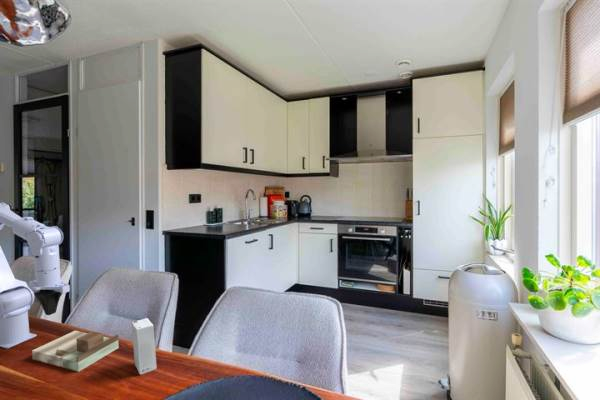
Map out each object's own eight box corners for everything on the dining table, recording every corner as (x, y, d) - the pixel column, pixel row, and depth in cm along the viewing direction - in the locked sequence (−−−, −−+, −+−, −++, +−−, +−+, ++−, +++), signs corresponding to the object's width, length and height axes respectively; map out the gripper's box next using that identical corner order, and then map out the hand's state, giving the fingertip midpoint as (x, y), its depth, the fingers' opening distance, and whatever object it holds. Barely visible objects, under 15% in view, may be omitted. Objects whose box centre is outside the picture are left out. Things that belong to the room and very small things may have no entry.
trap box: (32, 359, 88) (31, 345, 87) (75, 338, 99) (74, 325, 99) (78, 371, 82) (77, 356, 82) (118, 347, 93) (118, 334, 93)
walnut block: (77, 350, 87) (76, 338, 87) (92, 342, 91) (91, 331, 91) (88, 353, 86) (88, 341, 85) (103, 345, 90) (103, 333, 90)
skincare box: (157, 369, 83) (155, 324, 82) (138, 376, 80) (136, 330, 79) (151, 358, 87) (149, 316, 86) (133, 365, 84) (131, 321, 84)
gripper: (15, 270, 90) (19, 316, 91) (50, 275, 86) (53, 323, 87) (42, 263, 97) (45, 306, 98) (75, 267, 92) (78, 312, 93)
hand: (50, 313), depth 93 cm, fingers closed
